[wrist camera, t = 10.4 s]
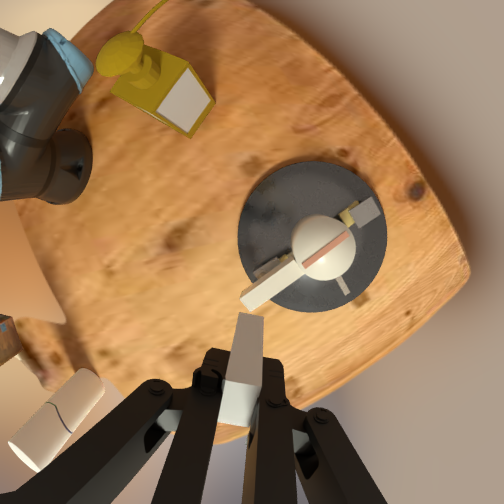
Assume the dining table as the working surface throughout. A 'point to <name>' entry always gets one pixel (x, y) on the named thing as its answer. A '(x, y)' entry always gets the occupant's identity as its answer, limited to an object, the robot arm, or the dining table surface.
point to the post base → (303, 204)
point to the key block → (308, 256)
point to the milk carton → (8, 339)
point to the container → (57, 420)
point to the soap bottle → (155, 80)
